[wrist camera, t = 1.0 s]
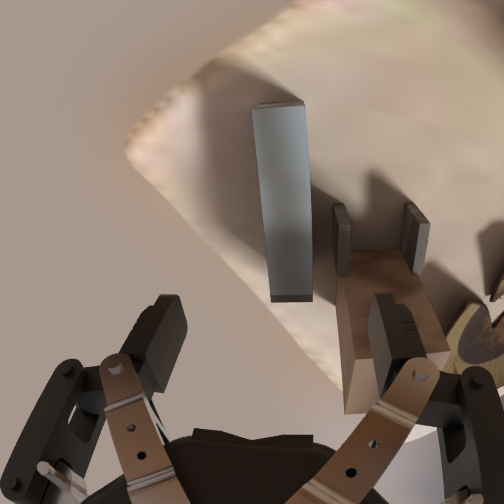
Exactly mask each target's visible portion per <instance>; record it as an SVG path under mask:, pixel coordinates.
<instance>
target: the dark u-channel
mask: <svg viewBox="0 0 504 504" xmlns="http://www.w3.org/2000/svg"><path fill="white" fill-rule="evenodd" d="M429 230H430V222H429V221H428V220H427V218H426V217H425V216H424V215H423V213H422V212H421V211H420V210H419V208H418V207H417V206H416V205H415V204H414V203H405V207H404V218H403V228H402V237H401V245H400V250H366V251H350V237H351V223H350V220H349V217H348V214H347V211H346V208H345V205H344V204H333V254H334V260H335V266H336V273H337V289H336V315H337V325H338V335H339V345H340V357H341V369H342V383H343V397H344V414H361V413H368V411H369V410H370V409H371V407H372V406H373V405H374V404H375V403H379V401H380V400H381V399H379V393H378V387H377V381H376V375H375V369H374V363H373V357H372V352H371V347H370V341H369V336H368V319H369V313H370V306H371V299H372V294H373V293H374V292H391V293H392V295H393V298H394V301H395V304H404V305H405V306H406V307H407V308H408V309H409V310H410V311H411V312H412V315H413V318H414V321H415V323H416V326H417V331H418V332H419V334H420V337H421V340H422V343H423V346H424V349H425V352H426V355H427V358H428V359H429V360H431V361H433V362H434V363H435V364H436V365H437V367H438V369H439V370H440V371H442V370H443V368H444V366H445V364H446V361H447V359H448V357H449V354H450V352H451V350H450V347H449V345H448V342H447V340H446V337H445V335H444V332H443V330H442V328H441V325H440V323H439V321H438V318H437V316H436V314H435V312H434V309H433V307H432V305H431V303H430V300H429V298H428V296H427V294H426V292H425V290H424V288H423V285H422V283H421V281H420V279H419V277H418V275H417V274H422V271H423V266H424V260H425V255H426V249H427V243H428V237H429Z"/></svg>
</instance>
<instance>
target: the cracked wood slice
mask: <svg viewBox="0 0 504 504" xmlns="http://www.w3.org/2000/svg"><path fill="white" fill-rule="evenodd" d="M502 295H504V271H503V272H502V273H501V275H500V278H499V279H498V280H497V282H496V284H495V285H494V289H493V291H492V292H491V296H490V302H495V301H496V300H497V299H498V298H500V299H502V298H501V296H502ZM444 335H445V337H446V340H447V342H448V345H449V347H450V350H451V352H450V354H449V357H448V359H447V361H446V364H445V366H444V368H443V370H442V371H443V372H447V373H454V374H462V372H463V371H464V370H465V369H466V368H468V367H470V366H480V367H483V368H485V369H487V370H488V371H489V372H490V373H491V375H492V376H493V379H494V382H495V385H496V388H497V389H498V388H500V387H502V386H504V314H503V315H502V316H501V318H500V319H499V320H498V321H497V322H496V324H495V325H494V326H493V327H492V325H491V319H490V315H489V311H488V308H487V306H486V305H485V304H483V303H482V302H479V301H475V300H466V301H464V303H463V304H462V305H461V306H460V308H459V309H458V310H457V312H456V313H455V315H454V316H453V317H452V319H451V321H450V322H449V324H448V326H447V327H446V329H445V331H444Z"/></svg>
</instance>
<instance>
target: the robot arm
mask: <svg viewBox="0 0 504 504" xmlns="http://www.w3.org/2000/svg"><path fill="white" fill-rule="evenodd" d="M186 334H187V321H186V318H185V314H184V311H183V308H182V304H181V301H180V298H179V296H178V295H171V294H167V295H166V294H161V295H160V296H159V297H158V299H157V301H156V302H155V304H154V306H149V307H147V309H145V310H144V311H143V312H142V313H141V314H140V316H139V318H138V319H137V323H135V325H134V326H133V330H131V332H130V333H129V335H128V337H127V339H126V341H125V342H124V344H123V346H122V348H121V350H120V351H119V353H115V354H112V355H110V356H108V357H106V358H105V359H104V360H103V361H102V363H101V364H100V366H93V367H83V365H82V364H81V362H80V361H79V360H77V359H68V360H65V361H63V362H62V363H60V364H59V365H58V366H57V368H56V369H55V371H54V372H53V374H52V376H51V378H50V380H49V381H48V383H47V385H46V387H45V389H44V390H43V392H42V394H41V396H40V398H39V399H38V401H37V403H36V405H35V407H34V409H33V411H32V413H31V415H30V417H29V419H28V421H27V423H26V425H25V427H24V429H23V431H22V433H21V435H20V437H19V439H18V441H17V443H16V445H15V447H14V450H13V452H12V454H11V456H10V458H9V460H8V463H7V465H6V467H5V470H4V472H3V474H2V477H1V480H0V488H1V491H2V493H3V495H4V496H5V497H6V498H7V499H9V500H10V501H12V502H14V503H15V504H389V503H388V502H387V501H386V500H385V499H384V498H383V497H382V496H381V495H380V494H379V493H378V492H377V491H376V490H375V489H374V488H373V487H374V486H375V484H376V483H377V482H378V480H379V479H380V477H381V476H382V475H383V473H384V472H385V470H386V469H387V468H388V466H389V465H390V463H391V462H392V460H393V459H394V457H395V456H396V454H397V453H398V451H399V450H400V448H401V447H402V445H403V443H404V442H405V440H406V439H407V437H408V435H409V434H410V432H411V430H412V429H413V427H414V425H415V424H419V425H426V426H432V427H437V432H438V438H439V446H440V453H441V462H442V471H443V481H444V495H445V501H444V502H442V503H441V504H504V410H503V407H502V403H501V400H500V397H499V394H498V391H497V388H496V385H495V382H494V379H493V376H492V375H491V373H490V372H489V371H488V370H487V369H485V368H483V367H480V366H470V367H468V368H466V369H465V370H464V371H463V372H462V374H454V373H447V372H443V371H440V370H439V369H438V367H437V365H436V364H435V363H434V362H433V361H431V360H429V359H428V358H427V355H426V352H425V349H424V346H423V343H422V340H421V337H420V334H419V332H418V331H417V326H416V323H415V321H414V318H413V315H412V312H411V311H410V310H409V309H408V308H407V307H406V306H405V305H404V304H395V301H394V298H393V295H392V293H391V292H374V293H373V294H372V299H371V306H370V313H369V319H368V336H369V341H370V347H371V352H372V357H373V363H374V369H375V375H376V381H377V387H378V393H379V399H381V400H380V401H379V403H375V404H374V405H373V406H372V407H371V409H370V410H369V411H368V413H367V414H366V415H365V417H364V418H363V419H362V421H361V422H360V423H359V424H358V426H357V427H356V428H355V430H354V431H353V432H352V434H351V435H350V436H349V437H348V438H347V440H346V441H345V442H344V443H343V444H342V446H341V447H340V448H339V449H338V450H337V451H335V450H334V449H332V448H330V447H327V446H325V445H322V444H319V443H314V442H313V435H279V436H274V437H268V438H262V439H256V440H249V439H245V438H242V437H239V436H235V435H233V434H229V433H226V432H223V431H217V430H207V429H198V428H194V430H193V434H192V436H186V437H182V438H178V439H176V440H173V441H172V440H171V438H170V436H169V434H168V433H167V431H166V428H165V426H164V424H163V422H162V419H161V417H160V415H159V413H158V410H157V408H156V406H155V404H154V401H153V399H152V396H153V393H154V392H159V393H164V391H165V389H166V386H167V383H168V381H169V378H170V376H171V373H172V371H173V368H174V365H175V363H176V360H177V358H178V355H179V353H180V350H181V347H182V345H183V342H184V340H185V337H186ZM74 406H76V410H75V412H74V414H73V416H72V419H71V420H70V423H69V425H68V419H69V417H70V414H71V412H72V410H73V408H74ZM106 419H107V422H108V426H109V429H110V433H111V436H112V440H113V443H114V446H115V449H116V452H117V455H118V458H119V461H120V464H121V467H122V470H123V473H124V474H122V475H121V476H119V477H118V478H116V479H115V480H113V481H112V482H110V483H109V484H107V485H106V486H104V487H103V488H101V489H100V490H98V491H97V492H95V493H93V494H92V495H90V496H88V493H87V486H86V482H85V481H84V477H85V474H86V471H87V468H88V466H89V463H90V460H91V457H92V454H93V452H94V449H95V446H96V444H97V441H98V438H99V436H100V433H101V430H102V428H103V425H104V423H105V420H106Z"/></svg>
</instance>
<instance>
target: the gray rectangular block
mask: <svg viewBox="0 0 504 504" xmlns="http://www.w3.org/2000/svg"><path fill="white" fill-rule="evenodd" d="M251 111H252V120H253V129H254V138H255V147H256V157H257V166H258V175H259V185H260V195H261V204H262V214H263V224H264V234H265V244H266V255H267V265H268V276H269V286H270V297H271V303H273V302H313V265H312V216H311V189H310V168H309V150H308V134H307V120H306V107H305V104H304V101H296V102H279V103H265V104H260V105H258V106H256V107H255V108H253V109H252V110H251Z"/></svg>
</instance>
